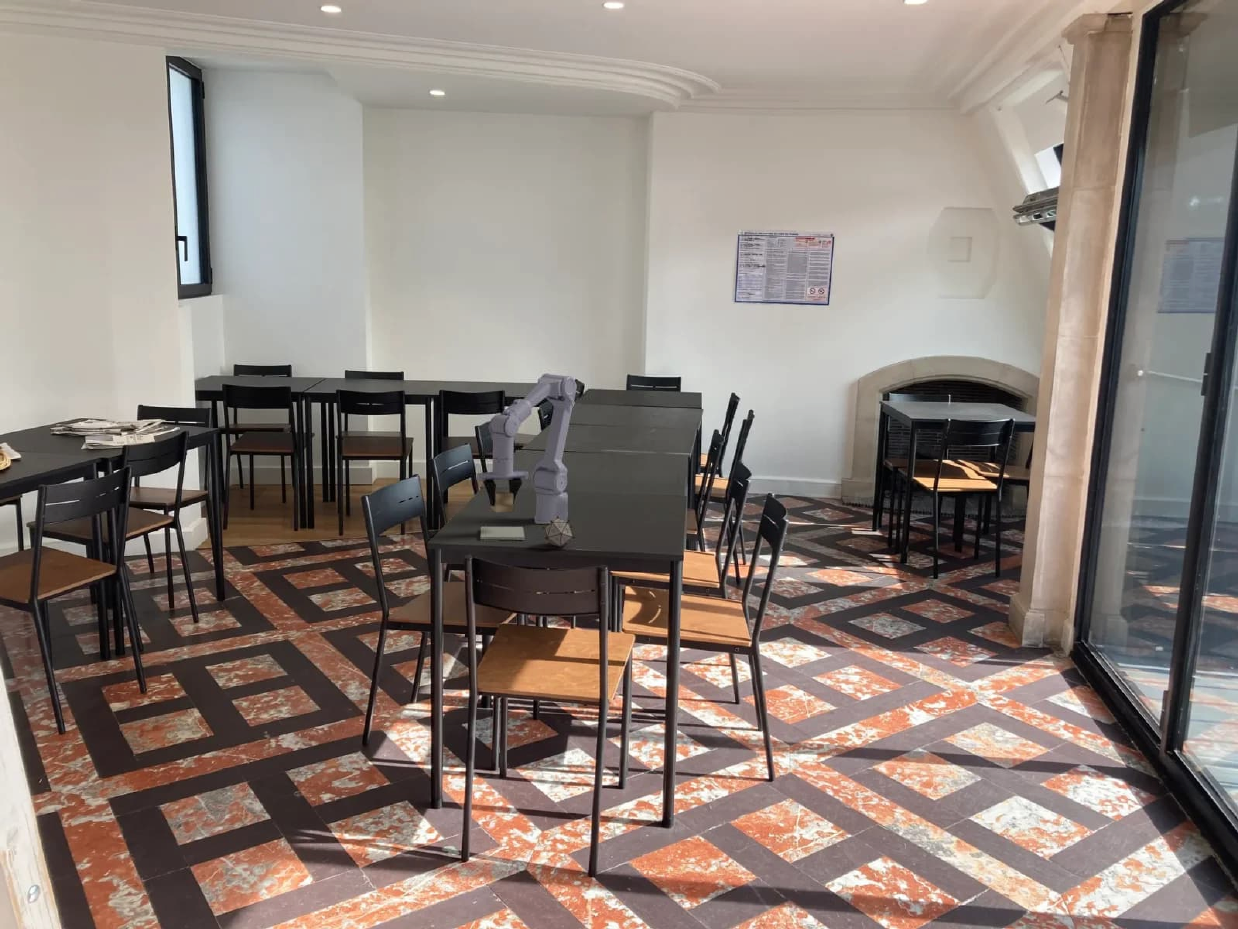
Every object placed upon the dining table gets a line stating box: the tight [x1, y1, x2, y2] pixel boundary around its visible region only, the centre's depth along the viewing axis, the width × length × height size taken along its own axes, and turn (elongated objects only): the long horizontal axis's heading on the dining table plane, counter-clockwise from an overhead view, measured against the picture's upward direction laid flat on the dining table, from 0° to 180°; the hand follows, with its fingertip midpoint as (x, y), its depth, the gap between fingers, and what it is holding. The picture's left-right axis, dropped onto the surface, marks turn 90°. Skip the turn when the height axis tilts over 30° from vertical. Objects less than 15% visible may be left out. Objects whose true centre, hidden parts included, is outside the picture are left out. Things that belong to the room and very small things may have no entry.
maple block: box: [490, 489, 514, 513], centre depth 266 cm, size 5×5×5 cm
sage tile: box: [480, 526, 525, 541], centre depth 266 cm, size 12×11×1 cm
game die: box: [542, 516, 576, 550], centre depth 256 cm, size 9×8×10 cm
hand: (502, 505), depth 266 cm, fingers closed on maple block, 5 cm apart
